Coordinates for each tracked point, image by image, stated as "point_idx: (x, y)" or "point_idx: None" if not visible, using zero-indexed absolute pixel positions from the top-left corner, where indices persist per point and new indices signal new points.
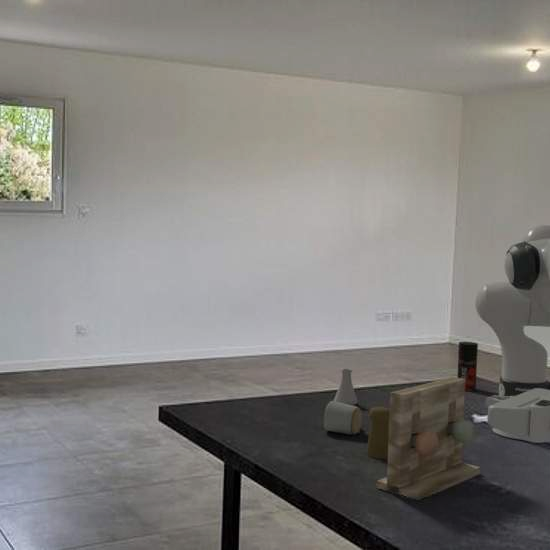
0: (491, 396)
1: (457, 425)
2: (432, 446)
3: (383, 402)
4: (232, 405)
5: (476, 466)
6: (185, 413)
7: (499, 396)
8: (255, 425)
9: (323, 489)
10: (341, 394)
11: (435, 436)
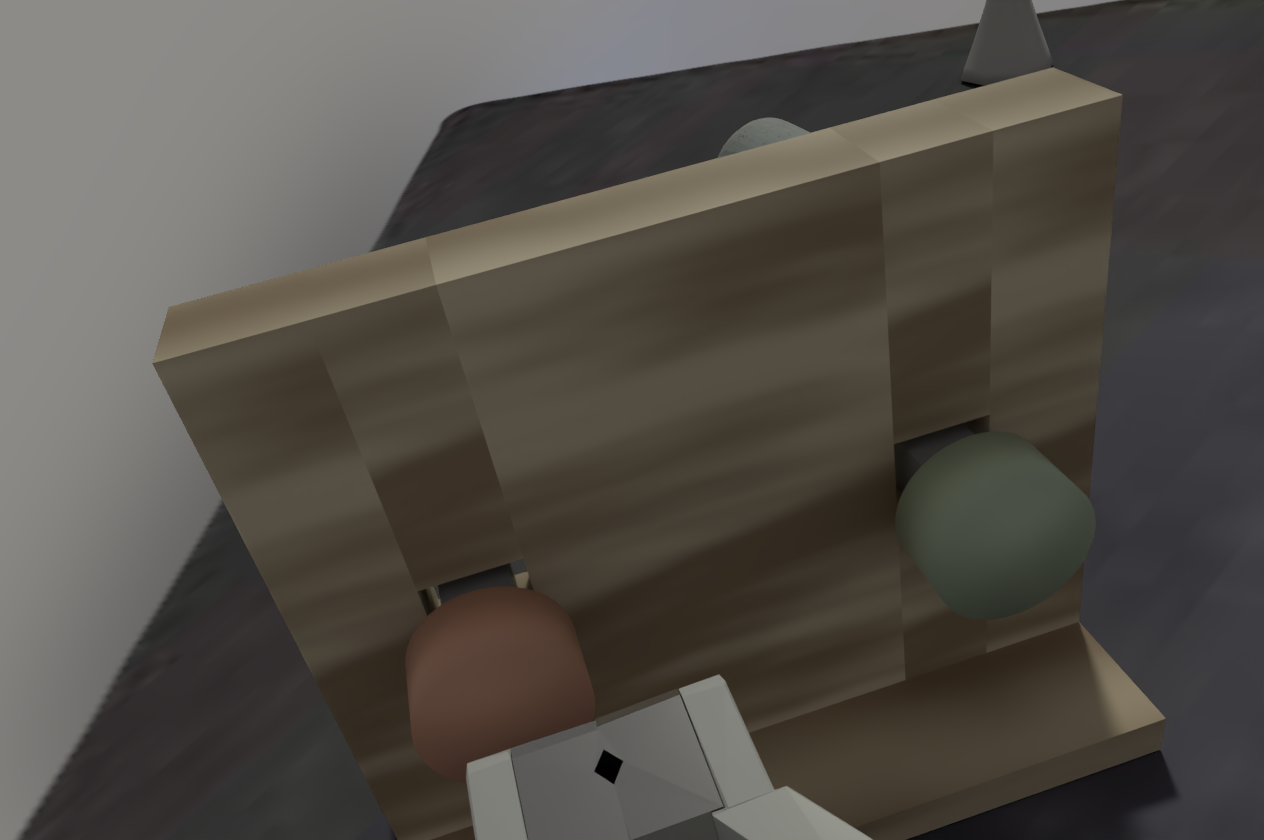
0: (599, 734)
1: (924, 498)
2: (513, 728)
3: (1162, 65)
4: (633, 97)
5: (1145, 700)
6: (467, 135)
7: (726, 784)
8: (565, 194)
9: (195, 688)
10: (980, 45)
11: (531, 667)
